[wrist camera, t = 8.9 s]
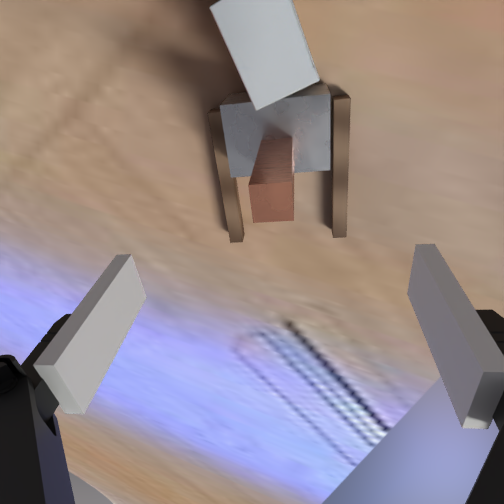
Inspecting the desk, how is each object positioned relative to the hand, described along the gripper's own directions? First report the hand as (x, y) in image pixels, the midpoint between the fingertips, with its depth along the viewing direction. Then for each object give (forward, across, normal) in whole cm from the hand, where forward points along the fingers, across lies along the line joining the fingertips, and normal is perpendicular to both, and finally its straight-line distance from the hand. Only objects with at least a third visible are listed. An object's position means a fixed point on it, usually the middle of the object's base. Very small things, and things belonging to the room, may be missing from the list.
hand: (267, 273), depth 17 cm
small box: (+27, 0, +9) cm, 28 cm away
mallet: (+27, 0, 0) cm, 27 cm away
